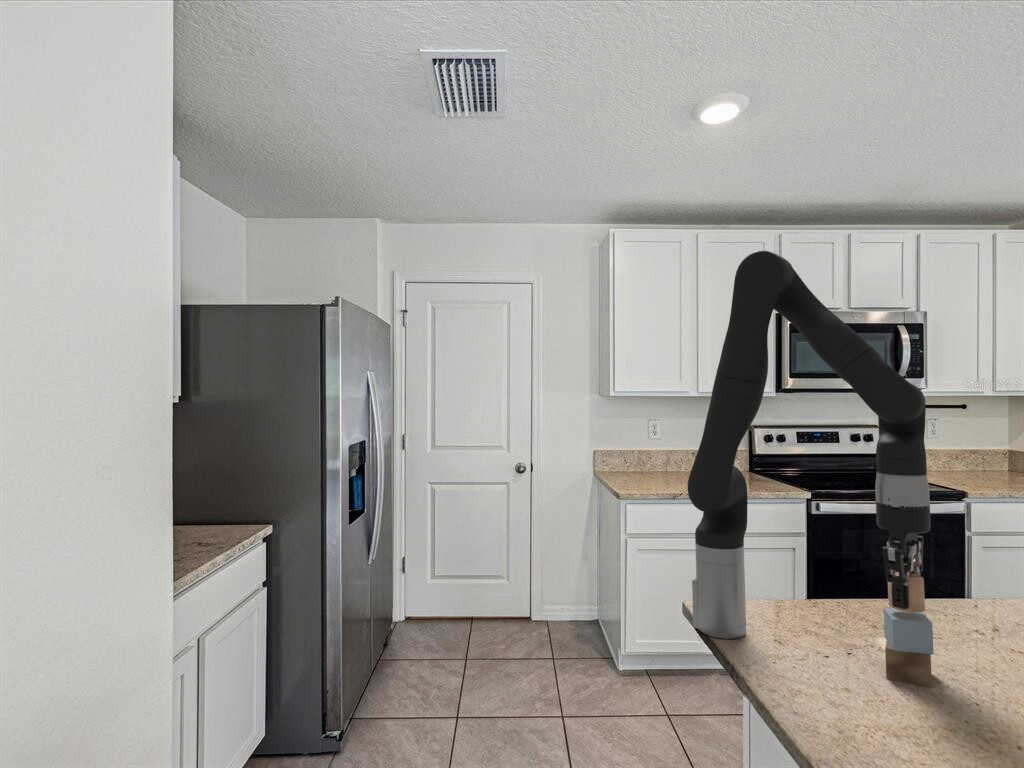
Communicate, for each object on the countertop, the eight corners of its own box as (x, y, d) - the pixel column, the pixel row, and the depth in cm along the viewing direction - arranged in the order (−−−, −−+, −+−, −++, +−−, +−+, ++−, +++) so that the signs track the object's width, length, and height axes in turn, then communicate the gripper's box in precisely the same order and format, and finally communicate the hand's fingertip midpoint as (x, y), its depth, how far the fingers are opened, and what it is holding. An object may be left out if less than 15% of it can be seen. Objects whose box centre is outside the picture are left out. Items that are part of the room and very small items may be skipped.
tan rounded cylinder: (884, 606, 97) (883, 576, 97) (894, 599, 100) (892, 570, 100) (920, 614, 93) (918, 583, 93) (928, 606, 96) (927, 576, 97)
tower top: (893, 650, 95) (892, 619, 95) (884, 637, 100) (883, 607, 100) (933, 654, 93) (932, 623, 93) (922, 641, 98) (921, 611, 98)
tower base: (886, 678, 96) (885, 647, 96) (888, 664, 100) (887, 635, 101) (931, 688, 92) (930, 656, 92) (931, 673, 97) (930, 643, 97)
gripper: (889, 493, 105) (893, 588, 104) (862, 503, 95) (865, 608, 95) (940, 497, 99) (944, 598, 99) (916, 509, 90) (920, 621, 89)
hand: (905, 602), depth 97 cm, fingers closed on tan rounded cylinder, 5 cm apart
